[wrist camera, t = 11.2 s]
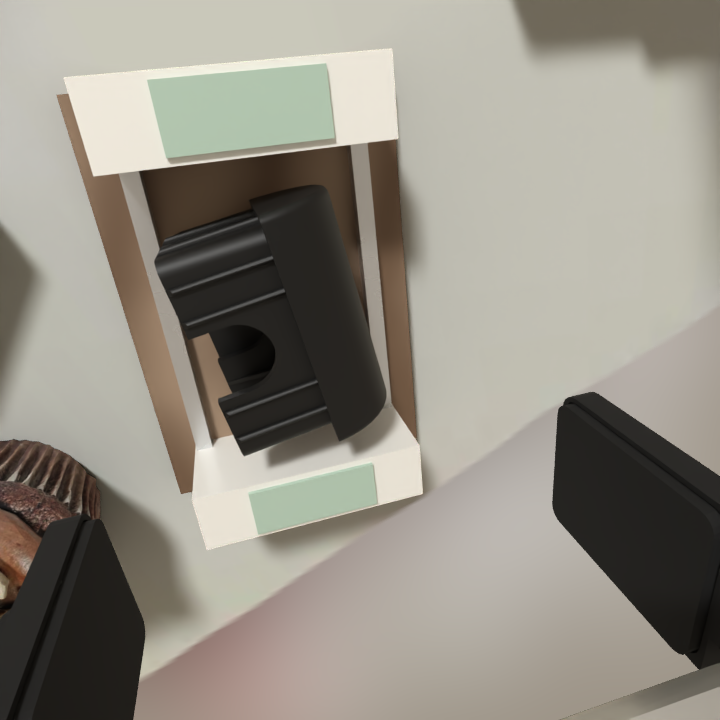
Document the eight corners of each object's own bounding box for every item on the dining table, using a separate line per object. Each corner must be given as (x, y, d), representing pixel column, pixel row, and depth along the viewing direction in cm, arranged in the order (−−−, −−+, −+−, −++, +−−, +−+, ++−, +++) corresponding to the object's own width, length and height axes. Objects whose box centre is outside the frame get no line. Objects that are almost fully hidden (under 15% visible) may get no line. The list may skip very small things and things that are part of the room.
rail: (355, 66, 23) (360, 64, 22) (391, 443, 31) (395, 451, 30) (98, 91, 21) (94, 89, 20) (210, 487, 29) (210, 495, 28)
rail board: (382, 66, 24) (390, 63, 23) (410, 428, 32) (416, 437, 31) (64, 97, 22) (56, 94, 21) (182, 481, 30) (181, 494, 29)
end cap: (365, 360, 29) (405, 418, 22) (243, 406, 28) (250, 479, 22) (309, 177, 24) (341, 189, 18) (162, 225, 23) (144, 254, 17)
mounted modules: (357, 66, 23) (394, 47, 18) (393, 443, 31) (424, 496, 26) (96, 91, 21) (61, 76, 16) (208, 487, 29) (207, 553, 24)
